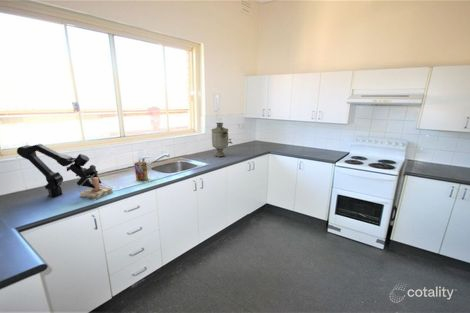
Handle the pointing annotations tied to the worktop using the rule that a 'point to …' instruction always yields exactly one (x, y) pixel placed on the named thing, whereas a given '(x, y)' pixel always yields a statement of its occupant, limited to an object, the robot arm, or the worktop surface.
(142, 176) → the candy box
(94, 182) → the terracotta peg
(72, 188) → the worktop surface
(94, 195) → the pocket block
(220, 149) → the samovar
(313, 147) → the worktop surface
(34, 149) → the robot arm
